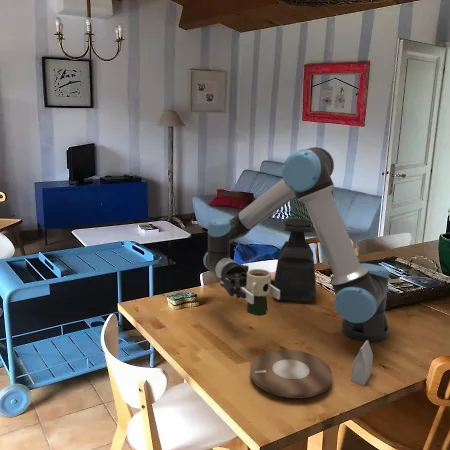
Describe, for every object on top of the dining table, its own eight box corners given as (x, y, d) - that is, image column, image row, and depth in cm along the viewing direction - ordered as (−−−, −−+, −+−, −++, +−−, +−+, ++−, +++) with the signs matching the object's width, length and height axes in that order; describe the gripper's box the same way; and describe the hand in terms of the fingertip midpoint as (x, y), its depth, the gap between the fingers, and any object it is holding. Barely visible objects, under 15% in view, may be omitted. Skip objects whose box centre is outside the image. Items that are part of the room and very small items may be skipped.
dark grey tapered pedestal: (274, 285, 203) (277, 215, 195) (314, 288, 200) (319, 217, 193) (272, 302, 185) (275, 225, 178) (315, 305, 183) (321, 228, 176)
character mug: (262, 322, 141) (265, 280, 138) (239, 318, 143) (241, 276, 140) (273, 308, 151) (275, 268, 148) (251, 304, 153) (253, 265, 150)
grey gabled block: (371, 373, 138) (374, 341, 135) (364, 385, 132) (367, 351, 130) (358, 370, 139) (361, 338, 137) (350, 380, 134) (353, 347, 131)
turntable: (313, 351, 146) (314, 346, 146) (345, 393, 125) (345, 387, 125) (242, 357, 142) (242, 352, 141) (262, 402, 121) (262, 396, 120)
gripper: (258, 279, 166) (295, 303, 147) (201, 287, 157) (233, 315, 138) (258, 258, 165) (296, 280, 145) (201, 265, 156) (234, 290, 136)
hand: (265, 297), depth 141 cm, fingers closed on character mug, 8 cm apart
